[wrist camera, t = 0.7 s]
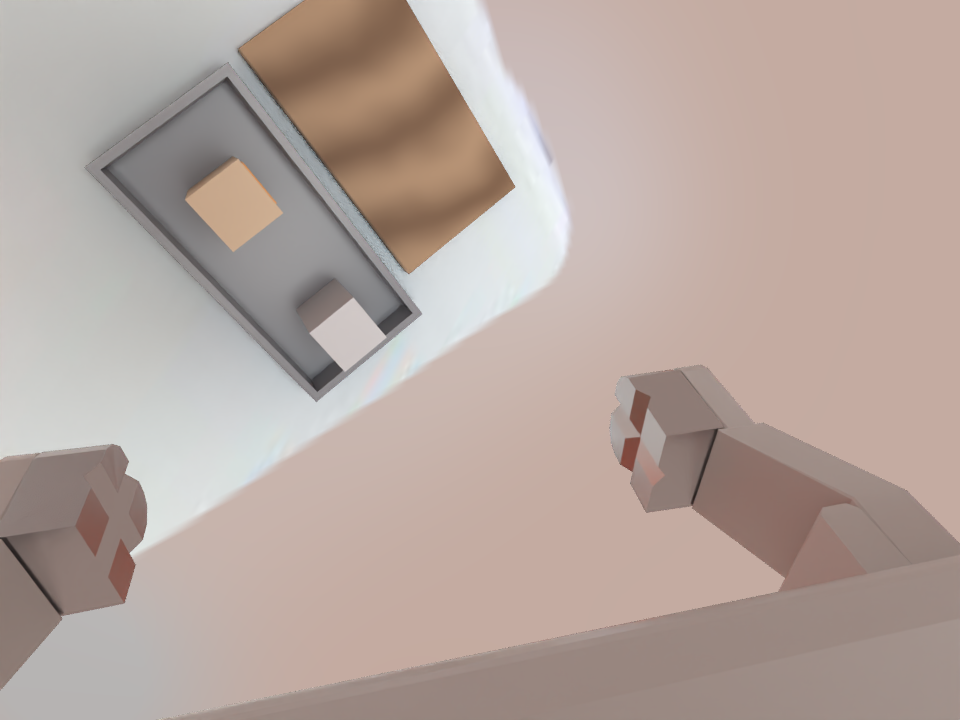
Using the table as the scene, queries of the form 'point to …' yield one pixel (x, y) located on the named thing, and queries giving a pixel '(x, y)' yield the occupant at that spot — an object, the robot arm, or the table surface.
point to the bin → (270, 253)
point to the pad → (382, 119)
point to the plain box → (340, 325)
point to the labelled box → (233, 203)
